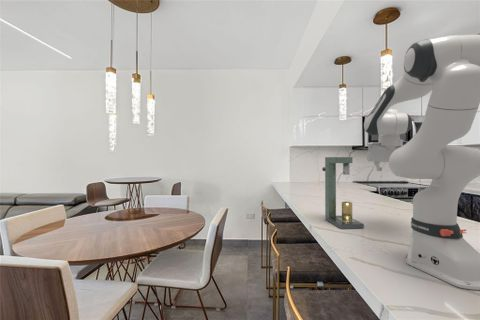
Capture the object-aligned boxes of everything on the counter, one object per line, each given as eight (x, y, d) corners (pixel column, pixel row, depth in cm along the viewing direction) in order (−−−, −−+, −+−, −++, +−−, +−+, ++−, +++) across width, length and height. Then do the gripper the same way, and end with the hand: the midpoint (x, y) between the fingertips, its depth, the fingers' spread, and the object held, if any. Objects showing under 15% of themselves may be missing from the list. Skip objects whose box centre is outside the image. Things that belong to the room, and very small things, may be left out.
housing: (354, 220, 115) (354, 203, 115) (345, 221, 115) (345, 203, 115) (348, 218, 120) (348, 201, 120) (339, 218, 120) (339, 201, 120)
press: (364, 227, 111) (364, 157, 110) (339, 228, 110) (339, 157, 109) (339, 215, 133) (339, 156, 132) (319, 216, 132) (319, 157, 131)
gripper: (372, 142, 107) (371, 170, 107) (413, 143, 108) (413, 172, 108) (364, 143, 114) (364, 170, 113) (403, 144, 114) (403, 171, 114)
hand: (388, 171), depth 110 cm, fingers open, 8 cm apart
